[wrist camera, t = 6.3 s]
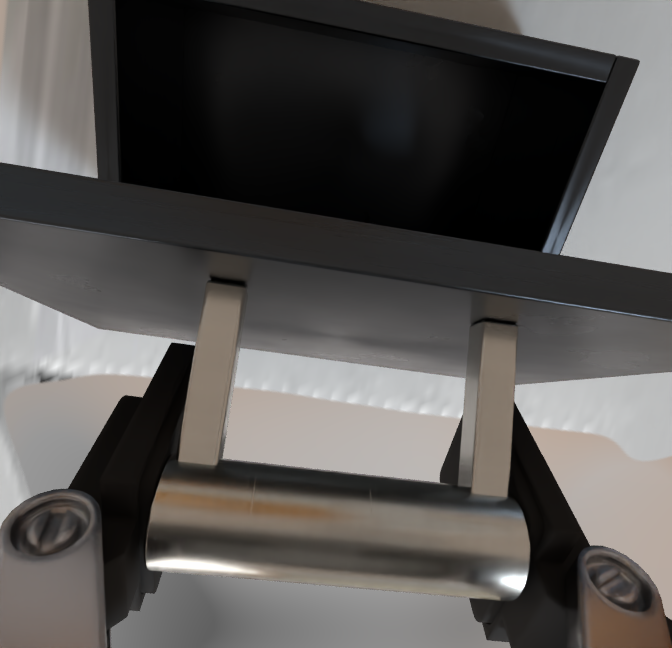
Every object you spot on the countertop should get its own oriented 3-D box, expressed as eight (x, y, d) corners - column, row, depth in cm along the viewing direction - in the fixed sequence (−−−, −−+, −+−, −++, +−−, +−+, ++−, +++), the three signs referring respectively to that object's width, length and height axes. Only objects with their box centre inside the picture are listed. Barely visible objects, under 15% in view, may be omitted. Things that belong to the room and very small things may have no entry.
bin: (170, -18, 21) (83, -59, 13) (534, 58, 23) (642, 60, 15) (168, 237, 27) (104, 312, 19) (461, 283, 28) (513, 369, 21)
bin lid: (-223, 123, 6) (-389, 583, 5) (883, 307, 8) (914, 681, 7) (101, 308, 19) (69, 459, 18) (517, 365, 20) (509, 507, 19)
